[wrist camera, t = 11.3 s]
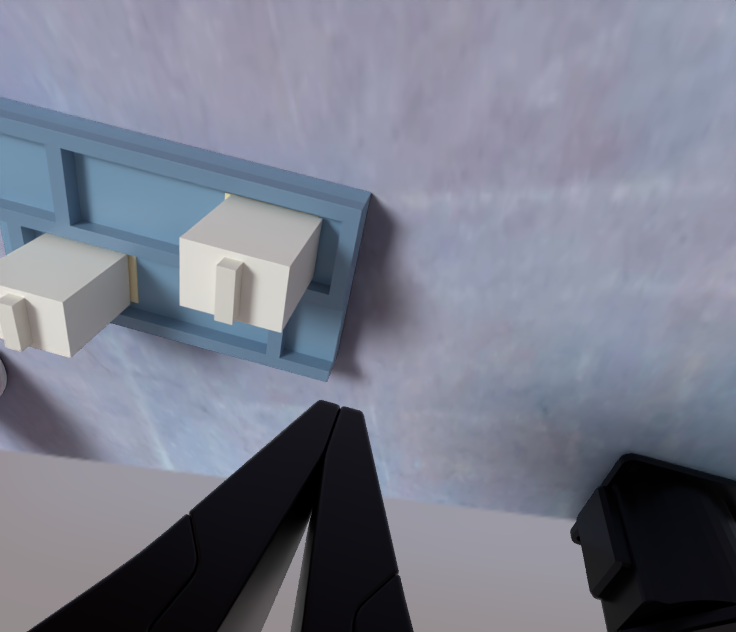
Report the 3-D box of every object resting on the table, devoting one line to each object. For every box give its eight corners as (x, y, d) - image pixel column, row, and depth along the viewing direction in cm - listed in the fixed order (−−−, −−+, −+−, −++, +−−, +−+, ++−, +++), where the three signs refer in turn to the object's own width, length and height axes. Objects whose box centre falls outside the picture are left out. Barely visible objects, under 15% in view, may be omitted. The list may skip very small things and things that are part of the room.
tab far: (127, 253, 21) (50, 311, 18) (130, 304, 23) (59, 367, 19) (47, 232, 22) (-47, 284, 18) (54, 283, 23) (-31, 342, 19)
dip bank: (371, 192, 20) (361, 210, 18) (336, 356, 24) (326, 382, 23) (-1, 96, 20) (-42, 105, 19) (31, 273, 25) (0, 292, 23)
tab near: (322, 218, 19) (283, 275, 15) (313, 276, 21) (275, 343, 17) (231, 194, 19) (169, 245, 15) (227, 254, 21) (170, 314, 17)
